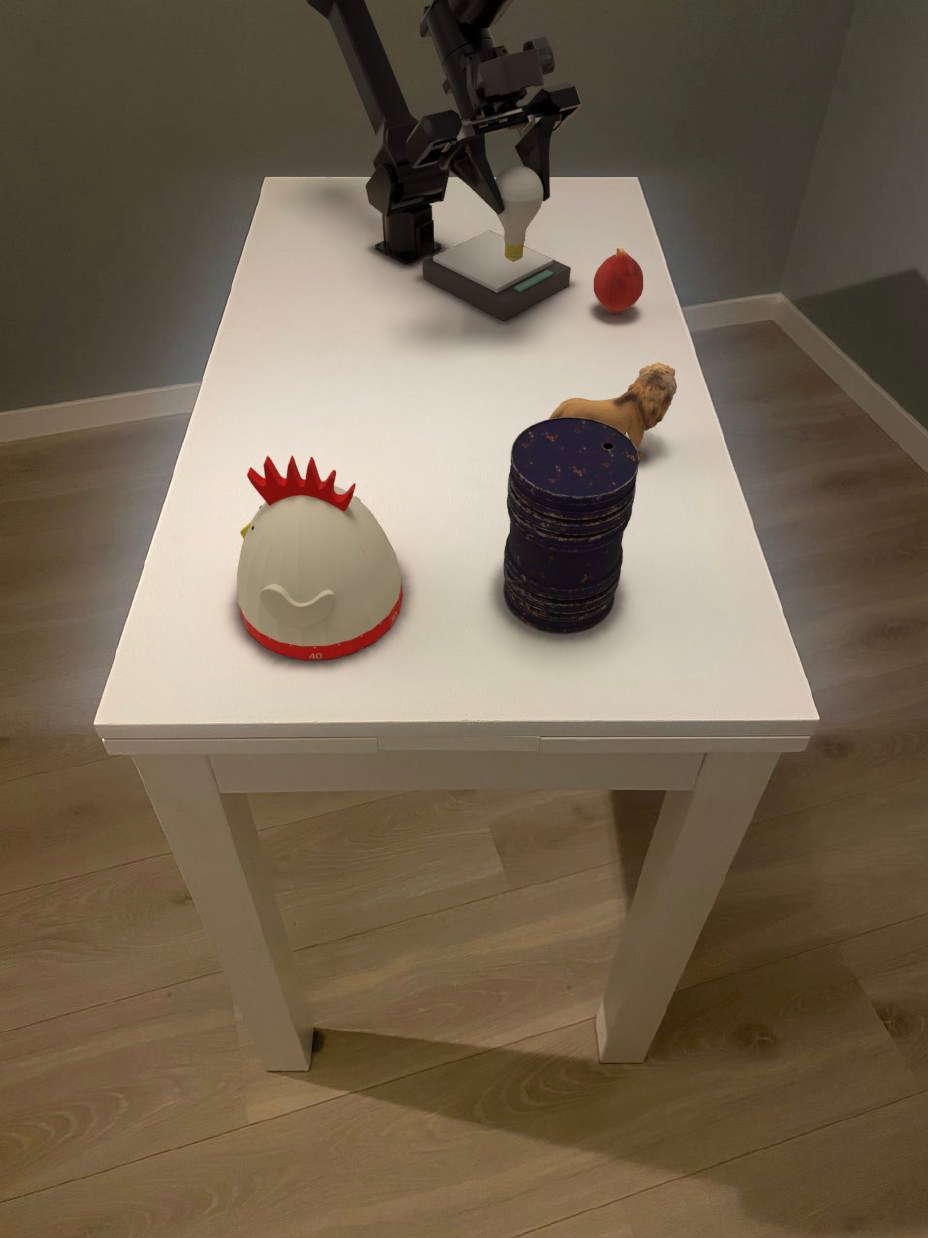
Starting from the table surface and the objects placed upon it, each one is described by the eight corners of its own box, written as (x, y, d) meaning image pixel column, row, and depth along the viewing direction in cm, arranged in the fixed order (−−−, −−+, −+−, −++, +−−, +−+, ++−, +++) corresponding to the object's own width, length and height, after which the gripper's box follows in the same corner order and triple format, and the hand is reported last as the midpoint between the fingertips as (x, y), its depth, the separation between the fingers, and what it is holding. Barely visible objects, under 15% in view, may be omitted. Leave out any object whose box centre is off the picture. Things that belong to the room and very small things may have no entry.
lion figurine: (650, 424, 97) (665, 348, 91) (675, 454, 94) (692, 377, 87) (520, 453, 94) (525, 377, 87) (541, 486, 91) (548, 408, 84)
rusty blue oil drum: (532, 649, 77) (545, 512, 66) (483, 571, 83) (487, 434, 72) (637, 614, 80) (666, 477, 68) (582, 541, 86) (601, 404, 74)
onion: (638, 301, 114) (648, 237, 108) (639, 326, 110) (649, 261, 104) (590, 298, 115) (597, 235, 109) (590, 323, 111) (597, 258, 105)
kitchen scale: (422, 279, 118) (422, 256, 115) (488, 247, 123) (489, 225, 121) (503, 321, 111) (504, 297, 109) (569, 285, 117) (571, 262, 114)
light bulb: (533, 246, 105) (539, 154, 97) (542, 271, 101) (549, 177, 94) (485, 249, 104) (488, 157, 97) (492, 273, 101) (496, 180, 93)
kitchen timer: (263, 537, 86) (234, 399, 75) (412, 548, 85) (405, 410, 74) (222, 652, 76) (181, 515, 65) (388, 666, 76) (376, 529, 64)
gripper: (417, 23, 84) (481, 193, 86) (581, -9, 91) (636, 150, 93) (379, 89, 94) (437, 239, 97) (529, 56, 101) (580, 197, 104)
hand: (524, 205), depth 97 cm, fingers closed on light bulb, 5 cm apart
